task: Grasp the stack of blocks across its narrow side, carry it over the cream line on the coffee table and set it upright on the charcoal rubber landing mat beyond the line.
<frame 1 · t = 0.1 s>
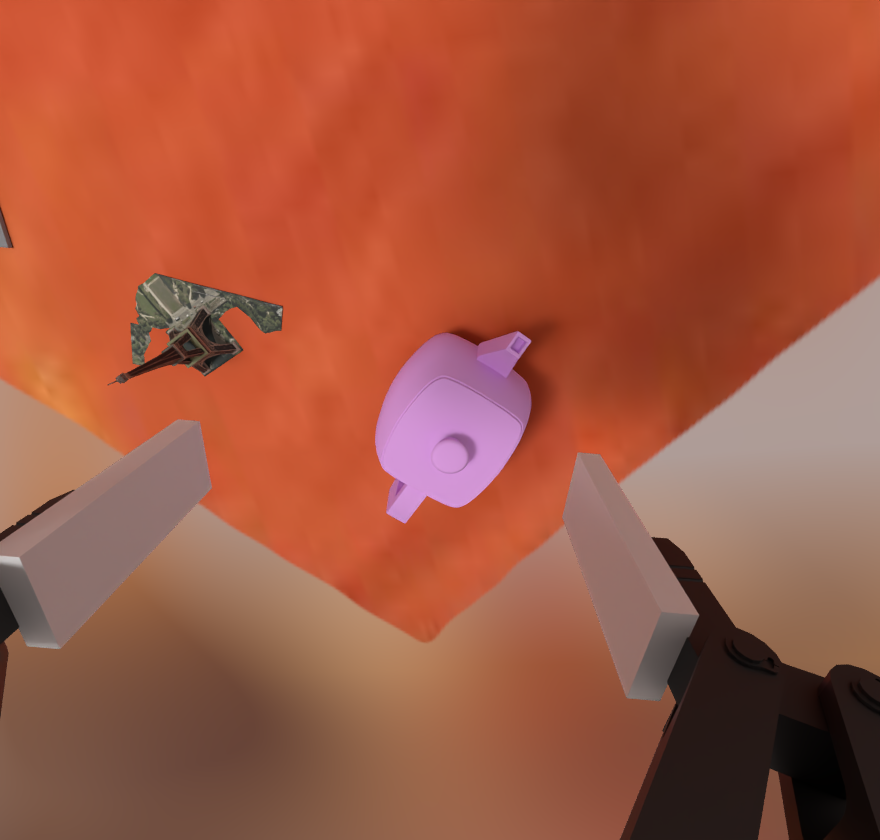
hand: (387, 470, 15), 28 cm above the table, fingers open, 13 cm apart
eiffel tower figurine: (210, 335, 43), on the table
teapot: (453, 394, 44), on the table
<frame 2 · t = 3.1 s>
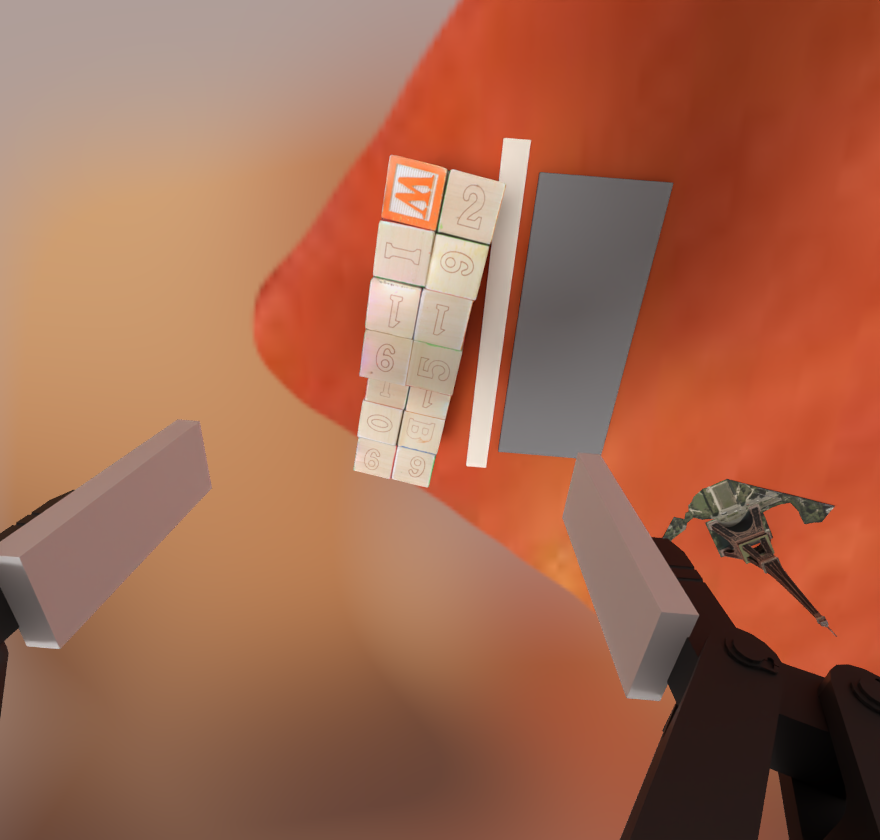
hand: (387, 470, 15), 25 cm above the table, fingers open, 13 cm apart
eiffel tower figurine: (739, 522, 46), on the table
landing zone: (572, 334, 37), on the table
stack of blocks: (431, 322, 37), on the table, touching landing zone
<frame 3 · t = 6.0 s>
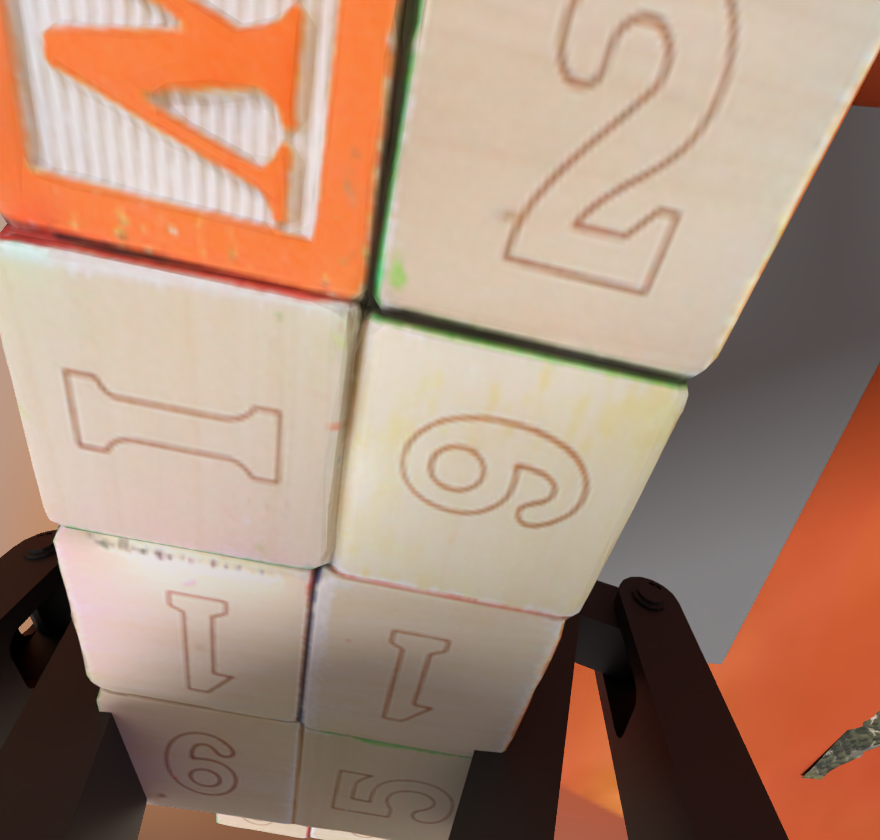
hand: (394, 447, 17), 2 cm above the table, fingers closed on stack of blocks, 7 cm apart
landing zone: (696, 454, 18), on the table
stack of blocks: (400, 429, 18), on the table, touching gripper, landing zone
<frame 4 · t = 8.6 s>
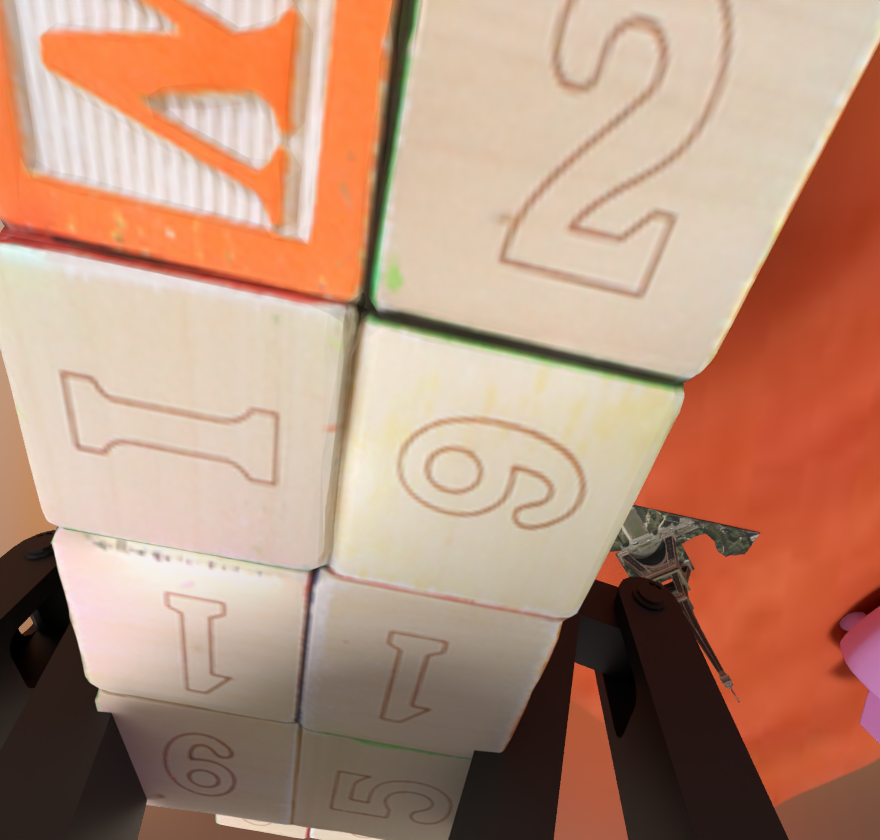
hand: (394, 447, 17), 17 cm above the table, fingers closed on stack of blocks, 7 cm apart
eiffel tower figurine: (655, 552, 40), on the table
stack of blocks: (399, 430, 18), point 15 cm above the table, touching gripper
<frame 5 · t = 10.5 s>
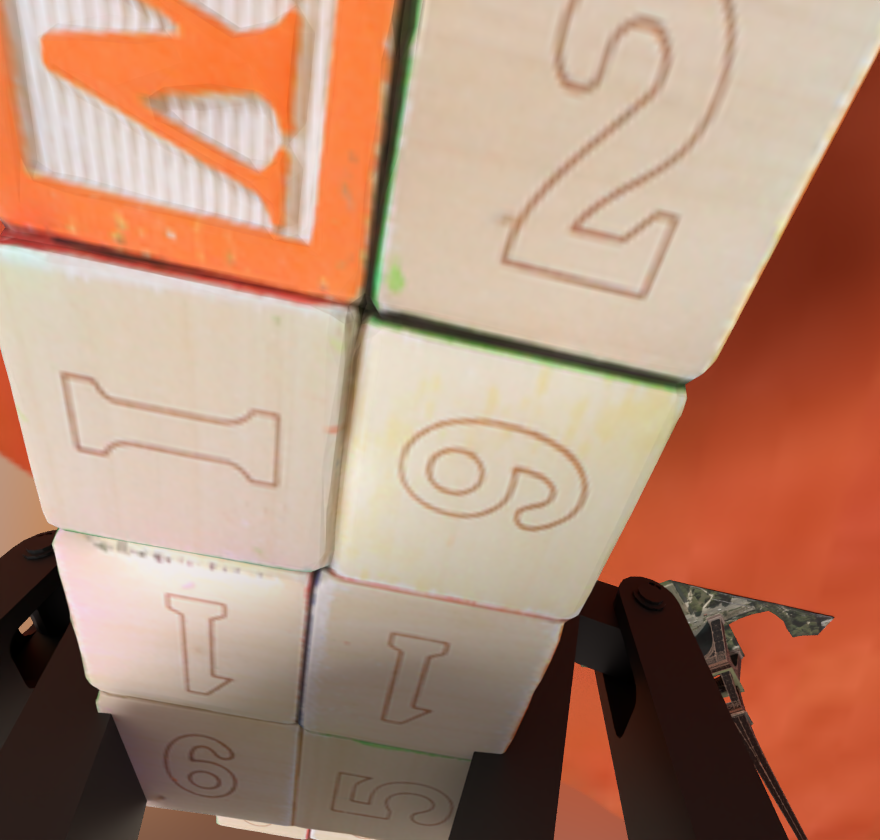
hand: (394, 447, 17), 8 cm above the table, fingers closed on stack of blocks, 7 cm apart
eiffel tower figurine: (696, 634, 32), on the table
stack of blocks: (399, 430, 18), point 6 cm above the table, touching gripper
when the fingers open (3 cm above the table, at t = 11.7 s): stack of blocks drops 2 cm, resting on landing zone.
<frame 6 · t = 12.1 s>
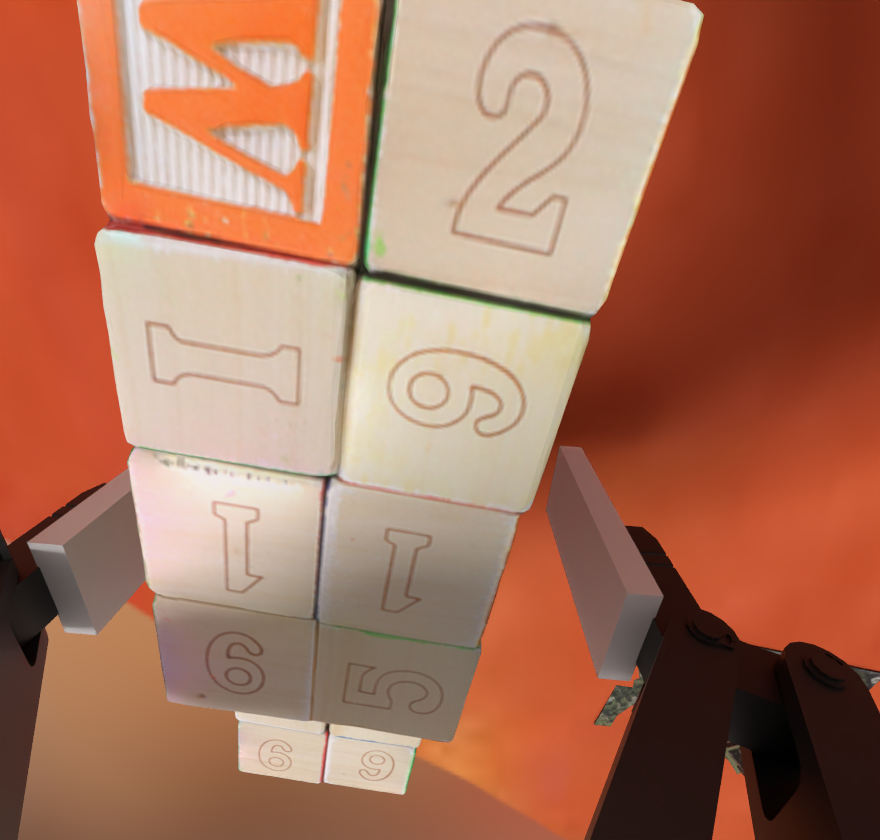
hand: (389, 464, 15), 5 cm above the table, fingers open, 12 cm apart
eiffel tower figurine: (725, 689, 28), on the table
stack of blocks: (397, 415, 19), resting on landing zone
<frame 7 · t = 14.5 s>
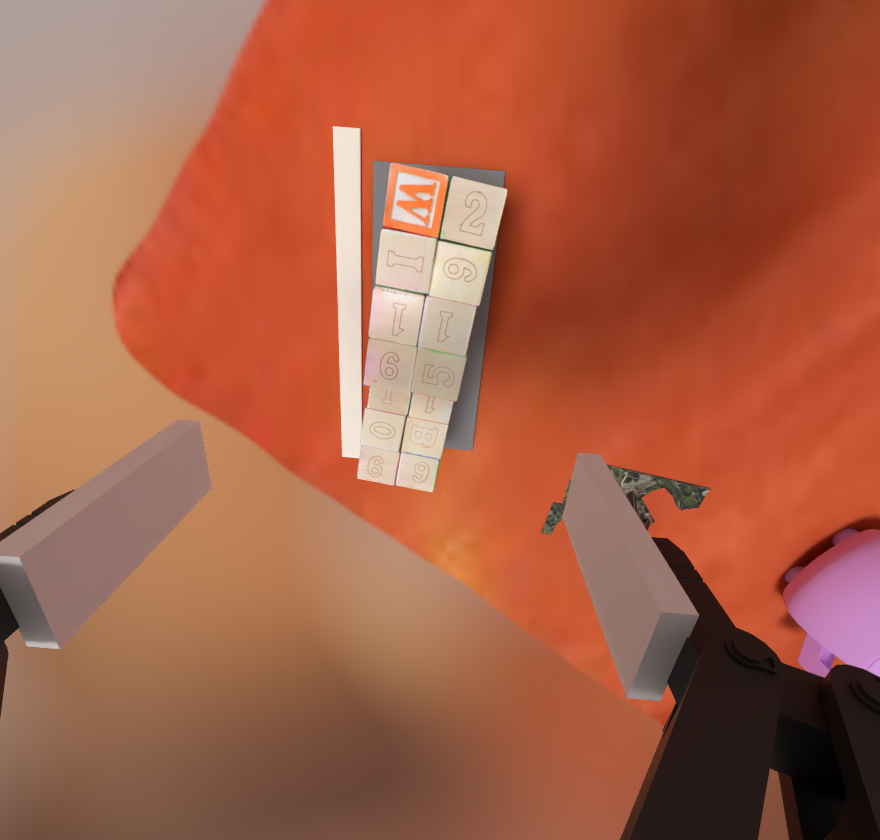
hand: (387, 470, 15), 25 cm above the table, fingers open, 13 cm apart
eiffel tower figurine: (620, 507, 45), on the table
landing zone: (429, 324, 37), on the table
teapot: (840, 565, 47), on the table
stack of blocks: (427, 326, 37), resting on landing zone
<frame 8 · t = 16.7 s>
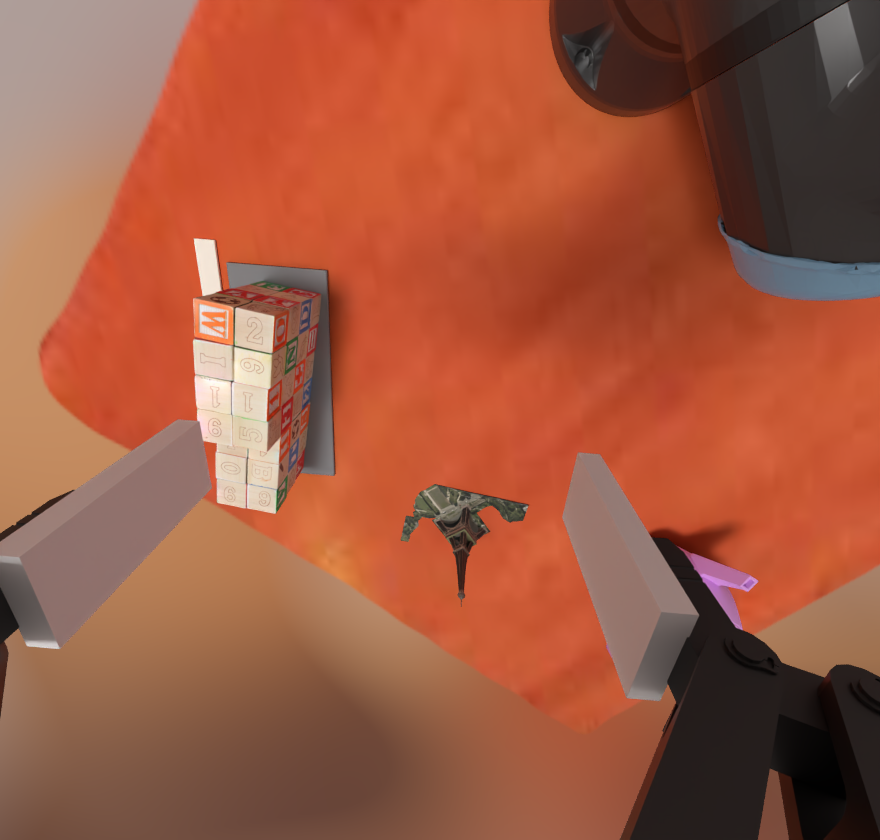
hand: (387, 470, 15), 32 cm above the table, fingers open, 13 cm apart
eiffel tower figurine: (463, 519, 56), on the table
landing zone: (287, 379, 48), on the table
teapot: (648, 568, 57), on the table
stack of blocks: (285, 382, 48), resting on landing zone
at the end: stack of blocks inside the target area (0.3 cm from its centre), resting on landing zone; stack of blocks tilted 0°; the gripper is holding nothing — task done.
